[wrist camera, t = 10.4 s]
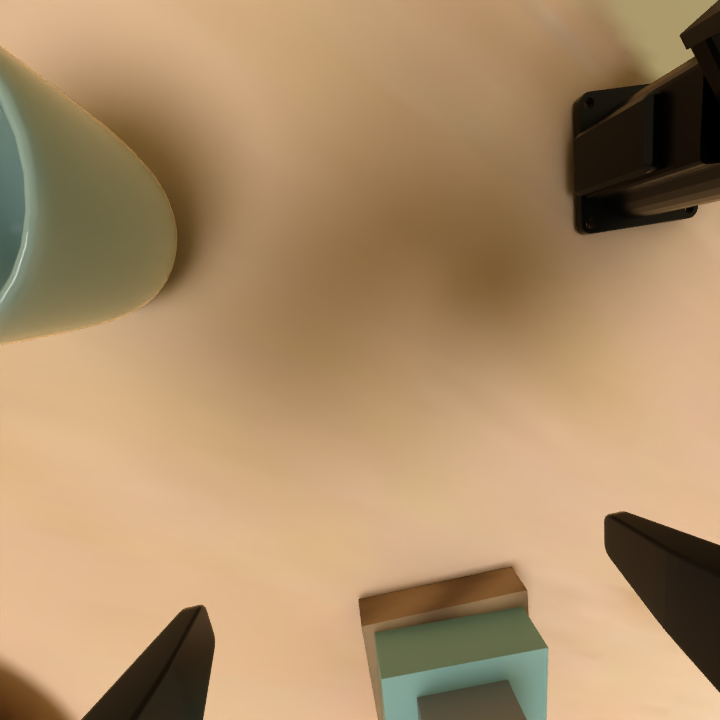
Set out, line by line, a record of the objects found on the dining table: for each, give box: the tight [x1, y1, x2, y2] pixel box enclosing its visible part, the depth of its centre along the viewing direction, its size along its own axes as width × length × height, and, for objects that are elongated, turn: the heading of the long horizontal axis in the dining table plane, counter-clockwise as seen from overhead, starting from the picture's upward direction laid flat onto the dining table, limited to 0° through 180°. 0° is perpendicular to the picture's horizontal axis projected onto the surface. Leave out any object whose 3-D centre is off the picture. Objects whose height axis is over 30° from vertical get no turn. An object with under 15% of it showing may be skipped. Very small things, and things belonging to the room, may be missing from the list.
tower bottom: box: [359, 567, 528, 720], centre depth 23 cm, size 10×10×2 cm
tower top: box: [374, 607, 548, 720], centre depth 21 cm, size 9×9×2 cm
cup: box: [0, 45, 177, 345], centre depth 12 cm, size 8×8×10 cm
